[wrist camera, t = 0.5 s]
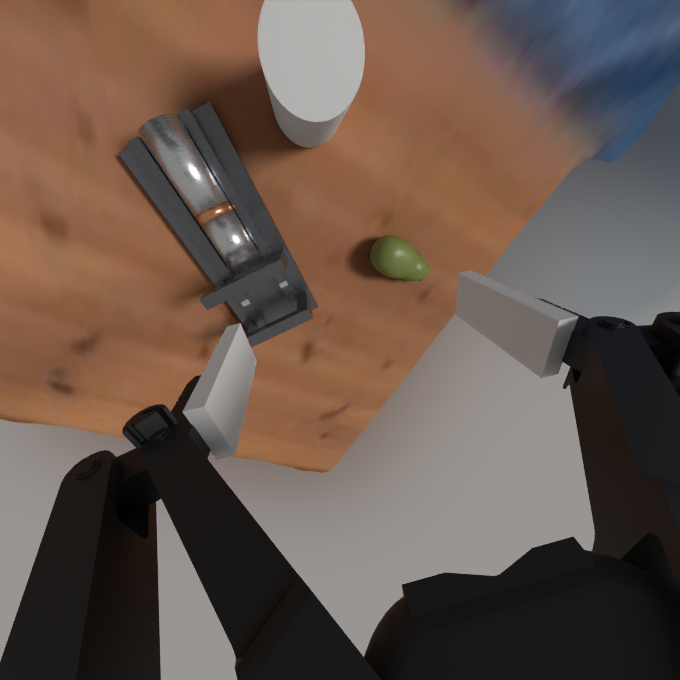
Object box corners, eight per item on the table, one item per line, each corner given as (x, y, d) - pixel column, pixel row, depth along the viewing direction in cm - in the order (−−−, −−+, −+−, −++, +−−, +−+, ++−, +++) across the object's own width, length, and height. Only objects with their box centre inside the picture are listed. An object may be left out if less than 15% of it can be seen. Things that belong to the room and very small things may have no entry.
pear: (393, 231, 33) (443, 261, 37) (376, 225, 37) (423, 252, 42) (372, 271, 35) (422, 294, 39) (358, 260, 39) (405, 283, 44)
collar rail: (123, 154, 29) (64, 139, 22) (212, 104, 28) (182, 70, 21) (254, 335, 43) (245, 362, 35) (317, 304, 42) (321, 327, 34)
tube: (148, 141, 28) (131, 128, 24) (183, 124, 28) (172, 109, 25) (230, 264, 36) (227, 270, 32) (258, 250, 36) (258, 253, 32)
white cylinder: (354, 92, 30) (384, 34, 19) (320, 162, 32) (331, 145, 22) (291, 34, 27) (288, -71, 16) (260, 117, 30) (240, 72, 19)
